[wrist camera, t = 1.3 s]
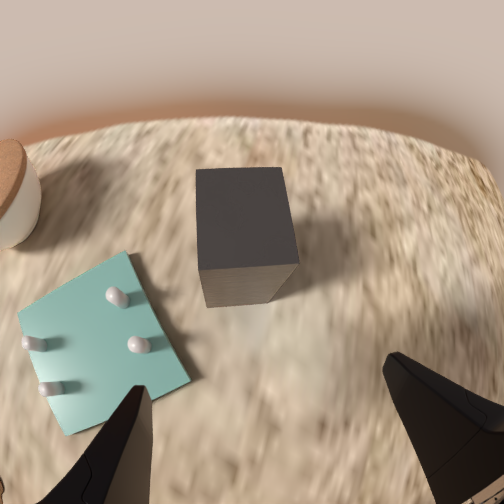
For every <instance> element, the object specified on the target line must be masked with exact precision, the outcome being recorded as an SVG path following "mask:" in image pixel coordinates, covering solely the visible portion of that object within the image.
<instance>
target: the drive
mask: <svg viewBox="0 0 504 504" xmlns="http://www.w3.org/2000/svg"><path fill="white" fill-rule="evenodd" d="M196 222H197V251H198V271H199V276H200V280H201V285H202V289H203V293H204V298H205V302H206V306H207V308H213V307H227V306H240V305H252V304H263V303H268V302H269V301H270V300H271V298H272V297H273V296H274V295H275V293H276V292H277V291H278V290H279V289H280V287H281V286H282V285H283V284H284V282H285V281H286V280H287V279H288V277H289V276H290V275H291V274H292V272H293V271H294V270H295V269H296V267H297V266H298V265H299V264H300V263H299V257H298V251H297V246H296V240H295V234H294V229H293V223H292V218H291V213H290V207H289V202H288V197H287V192H286V187H285V182H284V177H283V172H282V168H281V167H251V168H218V169H198V170H196Z"/></svg>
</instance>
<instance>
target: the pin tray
mask: <svg viewBox="0 0 504 504" xmlns="http://www.w3.org/2000/svg"><path fill="white" fill-rule="evenodd" d="M17 314H18V318H19V322H20V325H21V329H22V332H23V336H24V337H23V338H22V346H23V348H24V349H25V350H28V352H29V354H30V357H31V360H32V363H33V366H34V368H35V371H36V374H37V376H38V379H39V381H40V384H39V386H38V389H39V392H40V394H41V395H42V396H43V397H46V398H47V400H48V402H49V404H50V406H51V409H52V411H53V413H54V415H55V417H56V419H57V421H58V423H59V425H60V427H61V428H62V430H63V432H64V434H65V436H68V435H71V434H73V433H76V432H79V431H81V430H84V429H87V428H89V427H92V426H94V425H97V424H99V423H101V422H104V421H106V420H108V419H109V417H110V416H111V415H112V413H113V412H114V411H115V409H116V408H117V407H118V405H119V404H120V403H121V401H122V400H123V399H124V397H125V396H126V395H127V393H128V392H129V391H130V389H131V388H132V387H133V386H134V385H145V386H146V388H147V390H148V392H149V395H150V397H151V400H153V399H156V398H158V397H160V396H162V395H164V394H166V393H168V392H170V391H172V390H174V389H176V388H178V387H180V386H182V385H184V384H186V383H188V382H190V381H191V380H192V379H191V378H190V376H189V374H188V373H187V371H186V369H185V367H184V366H183V364H182V362H181V361H180V359H179V357H178V355H177V353H176V352H175V350H174V348H173V346H172V344H171V342H170V341H169V339H168V337H167V335H166V333H165V331H164V329H163V327H162V325H161V323H160V321H159V320H158V318H157V316H156V314H155V312H154V310H153V307H152V305H151V303H150V301H149V299H148V297H147V295H146V293H145V291H144V289H143V286H142V284H141V282H140V280H139V278H138V275H137V273H136V271H135V269H134V266H133V264H132V262H131V259H130V257H129V255H128V253H127V252H126V251H123V252H121V253H119V254H118V255H116V256H114V257H112V258H110V259H108V260H106V261H105V262H103V263H101V264H99V265H97V266H96V267H94V268H92V269H90V270H88V271H87V272H85V273H83V274H81V275H80V276H78V277H76V278H74V279H73V280H71V281H69V282H67V283H66V284H64V285H62V286H61V287H59V288H57V289H56V290H54V291H52V292H51V293H49V294H47V295H46V296H44V297H42V298H41V299H39V300H37V301H36V302H34V303H33V304H31V305H29V306H28V307H26V308H25V309H23V310H21V311H20V312H18V313H17Z"/></svg>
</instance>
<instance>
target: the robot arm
mask: <svg viewBox="0 0 504 504" xmlns="http://www.w3.org/2000/svg"><path fill="white" fill-rule="evenodd" d="M383 375H384V378H385V380H386V383H387V386H388V389H389V392H390V395H391V398H392V400H393V403H394V405H395V407H396V410H397V412H398V414H399V416H400V418H401V420H402V423H403V425H404V427H405V429H406V431H407V434H408V436H409V438H410V440H411V443H412V445H413V447H414V449H415V452H416V454H417V456H418V459H419V461H420V464H421V466H422V468H423V471H424V473H425V476H426V478H427V481H428V483H429V486H430V489H431V491H432V494H433V496H434V499H435V502H436V504H462V503H463V502H465V501H467V500H468V499H470V498H471V500H472V502H471V503H470V504H504V406H502V405H499V404H497V403H495V402H492V401H490V400H487V399H485V398H483V397H481V396H479V395H477V394H475V393H473V392H471V391H469V390H467V389H464V388H463V387H462V386H460V385H458V384H456V383H454V382H452V381H451V380H449V379H447V378H445V377H443V376H442V375H440V374H438V373H436V372H434V371H433V370H431V369H429V368H427V367H425V366H423V365H422V364H420V363H418V362H416V361H415V360H413V359H411V358H409V357H407V356H406V355H404V354H402V353H400V352H393V353H389V354H388V356H387V358H386V361H385V363H384V366H383ZM152 447H153V428H152V400H151V397H150V395H149V392H148V390H147V388H146V386H145V385H134V386H133V387H132V388H131V389H130V391H129V392H128V393H127V395H126V396H125V397H124V399H123V400H122V401H121V403H120V404H119V405H118V407H117V408H116V409H115V411H114V412H113V413H112V415H111V416H110V417H109V419H108V420H107V421H106V423H105V424H104V426H103V427H102V428H101V430H100V431H99V432H98V434H97V435H96V436H95V438H94V439H93V440H92V442H91V443H90V445H89V446H88V447H87V449H86V450H85V451H84V454H82V455H81V457H80V458H79V460H78V461H77V462H76V463H75V465H74V466H73V467H72V469H71V470H70V471H69V472H68V473H67V474H66V475H65V477H64V478H63V479H62V480H61V481H60V482H59V483H58V484H57V485H56V486H55V487H54V488H53V489H52V490H51V491H50V492H49V493H48V494H47V495H46V496H45V497H44V498H43V499H42V500H41V501H39V502H38V503H36V504H149V494H150V475H151V460H152Z"/></svg>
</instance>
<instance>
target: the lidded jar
mask: <svg viewBox="0 0 504 504" xmlns="http://www.w3.org/2000/svg"><path fill="white" fill-rule="evenodd" d="M40 206H41V186H40V181H39V178H38V175H37V172H36V170H35V168H34V166H33V164H32V162H31V161H30V159H29V158H28V156H27V154H26V152H25V150H24V148H23V146H22V145H21V144H20V143H19V142H18V141H17V140H14V139H7V140H3V141H0V251H3V250H6V249H10V248H12V247H14V246H15V245H17V244H19V243H21V242H23V241H24V240H25V239H26V238H28V236H29V235H30V234H31V233H32V231H33V230H34V228H35V226H36V224H37V221H38V218H39V212H40Z"/></svg>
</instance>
